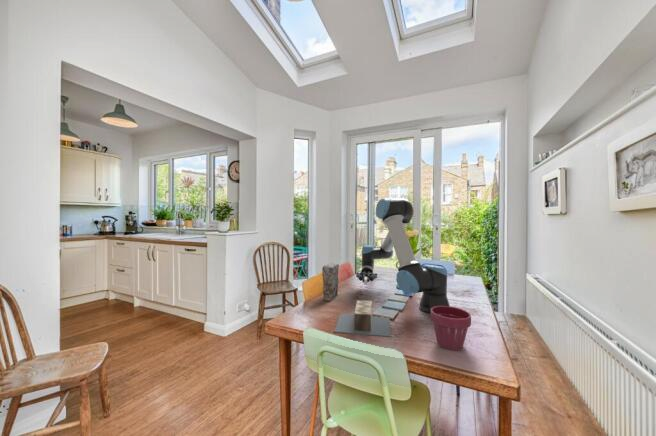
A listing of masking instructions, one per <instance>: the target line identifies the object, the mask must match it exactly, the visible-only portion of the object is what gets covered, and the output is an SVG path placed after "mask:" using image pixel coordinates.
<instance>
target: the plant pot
mask: <svg viewBox="0 0 656 436" xmlns="http://www.w3.org/2000/svg"><path fill="white" fill-rule="evenodd" d="M430 320H431V322H433V323H432V324H433V328H434V329H433V330H434V332H435V333H434V334H435V337H436V342H437V344H438V345H439V346H440V347H442V348H444V349H446V350H451V351H459V349H460V350H462V349H463V347H464V346H465V345H464V344H465V341H466V337H467V333H468V329H469V328H470V327H471V326H472V315H471V313H470V312H469V311H466V310H465V309H463V308H460V307H456V306H435V307H433V308H431V313H430Z"/></svg>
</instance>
